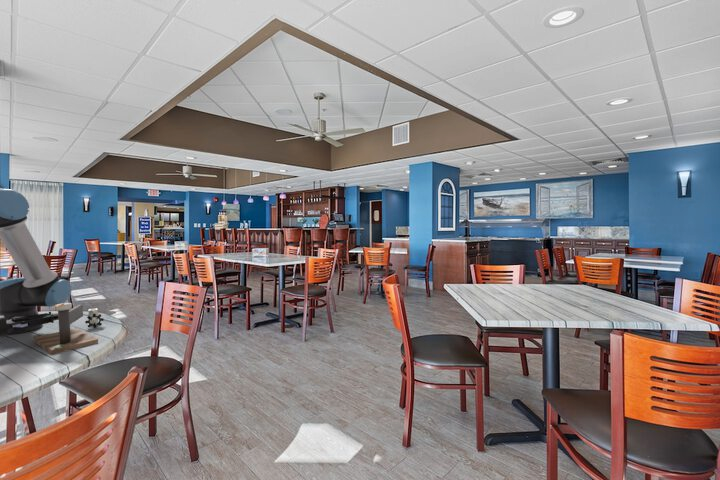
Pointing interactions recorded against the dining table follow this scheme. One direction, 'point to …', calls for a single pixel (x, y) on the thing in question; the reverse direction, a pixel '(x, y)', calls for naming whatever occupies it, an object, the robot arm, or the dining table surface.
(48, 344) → the board
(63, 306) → the dark piece
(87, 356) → the dining table surface
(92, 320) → the valve
